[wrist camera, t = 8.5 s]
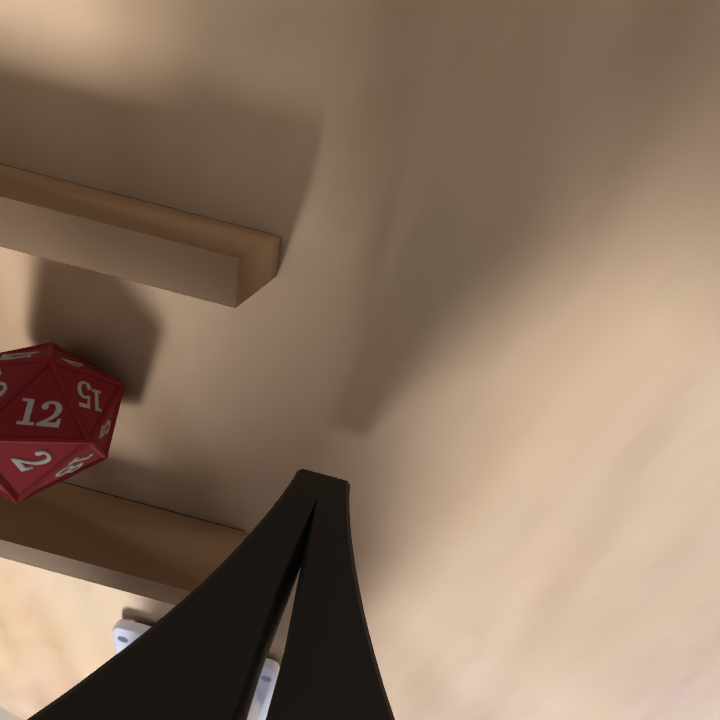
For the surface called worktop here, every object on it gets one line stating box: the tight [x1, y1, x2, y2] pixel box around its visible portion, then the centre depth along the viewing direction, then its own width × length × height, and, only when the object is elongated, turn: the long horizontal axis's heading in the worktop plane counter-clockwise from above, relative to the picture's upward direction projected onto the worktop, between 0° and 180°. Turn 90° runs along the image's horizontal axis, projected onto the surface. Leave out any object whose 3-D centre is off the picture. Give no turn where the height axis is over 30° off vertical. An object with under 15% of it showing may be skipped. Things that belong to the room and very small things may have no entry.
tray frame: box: [0, 164, 281, 605], centre depth 11 cm, size 12×12×2 cm
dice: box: [0, 342, 125, 504], centre depth 10 cm, size 4×4×4 cm
